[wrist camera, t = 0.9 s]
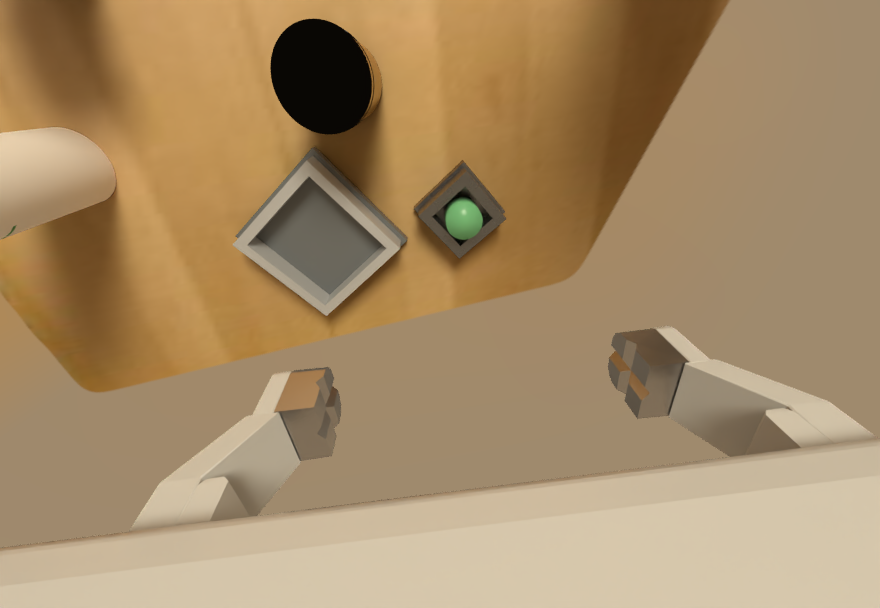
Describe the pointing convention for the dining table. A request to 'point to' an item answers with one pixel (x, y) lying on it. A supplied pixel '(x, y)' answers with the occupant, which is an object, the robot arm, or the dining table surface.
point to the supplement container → (324, 76)
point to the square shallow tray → (319, 234)
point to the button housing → (453, 187)
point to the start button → (463, 218)
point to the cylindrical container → (49, 177)
